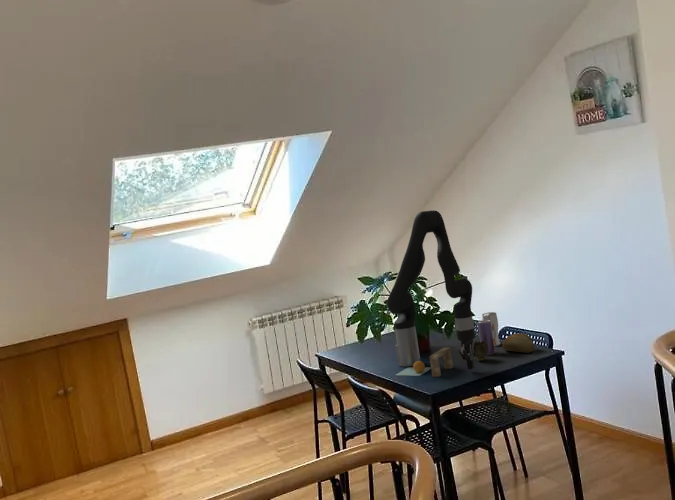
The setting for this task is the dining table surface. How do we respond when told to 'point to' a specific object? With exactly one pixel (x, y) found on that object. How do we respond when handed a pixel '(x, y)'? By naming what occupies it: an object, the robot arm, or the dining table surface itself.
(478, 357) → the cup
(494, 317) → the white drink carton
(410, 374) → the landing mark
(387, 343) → the dining table surface
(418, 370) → the ball
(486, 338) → the beverage can
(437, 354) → the bridge
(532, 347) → the bread roll
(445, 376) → the dining table surface
